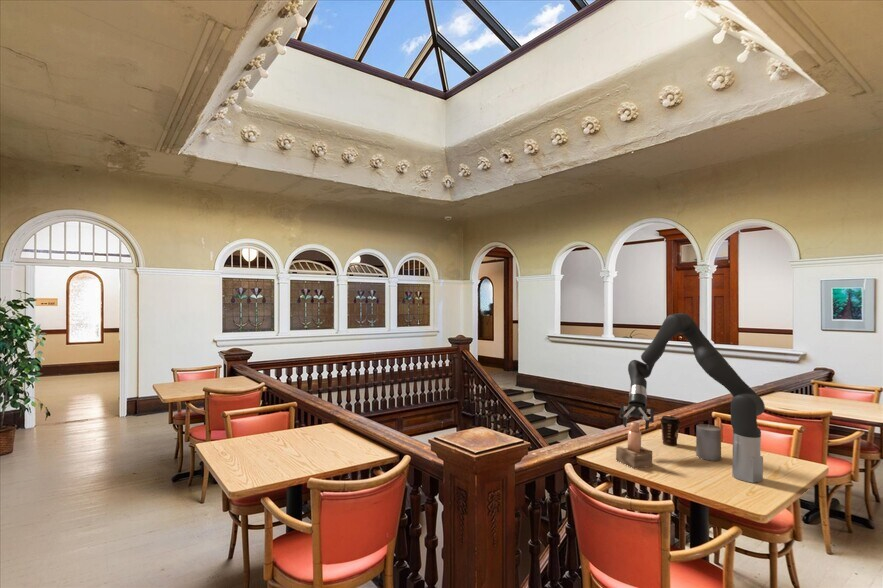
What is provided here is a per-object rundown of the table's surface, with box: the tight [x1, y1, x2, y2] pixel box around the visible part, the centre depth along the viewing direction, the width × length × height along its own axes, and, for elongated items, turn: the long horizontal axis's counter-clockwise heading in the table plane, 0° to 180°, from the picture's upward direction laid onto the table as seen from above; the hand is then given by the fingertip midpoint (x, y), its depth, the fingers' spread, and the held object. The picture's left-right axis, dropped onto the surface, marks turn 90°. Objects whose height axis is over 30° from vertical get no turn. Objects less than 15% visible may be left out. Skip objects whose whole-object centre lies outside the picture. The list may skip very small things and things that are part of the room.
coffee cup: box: [659, 415, 681, 447], centre depth 224 cm, size 9×8×13 cm
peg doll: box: [627, 421, 642, 453], centre depth 196 cm, size 5×5×12 cm
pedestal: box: [615, 445, 653, 469], centre depth 196 cm, size 10×10×6 cm
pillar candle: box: [695, 423, 722, 462], centre depth 205 cm, size 10×10×15 cm
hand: (635, 427), depth 204 cm, fingers open, 8 cm apart
